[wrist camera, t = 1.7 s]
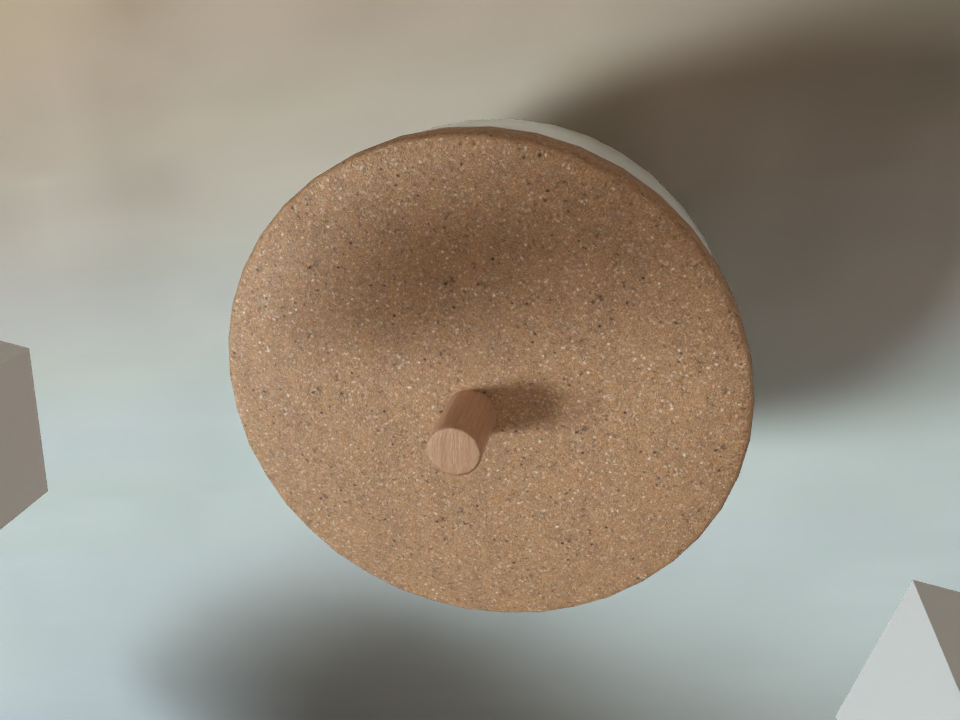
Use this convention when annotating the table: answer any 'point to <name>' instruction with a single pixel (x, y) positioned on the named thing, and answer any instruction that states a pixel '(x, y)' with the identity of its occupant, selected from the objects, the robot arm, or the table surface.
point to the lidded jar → (493, 366)
